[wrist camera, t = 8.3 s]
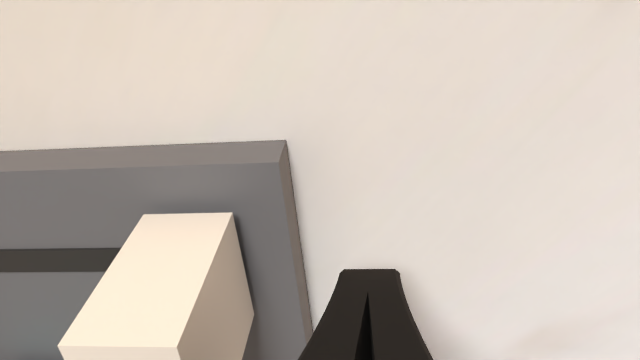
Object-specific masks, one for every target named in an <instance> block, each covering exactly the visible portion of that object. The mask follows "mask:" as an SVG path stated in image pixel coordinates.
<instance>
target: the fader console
mask: <svg viewBox="0 0 640 360" xmlns="http://www.w3.org/2000/svg"><path fill="white" fill-rule="evenodd" d="M229 212H232V213H233V218H234V222H235V227H236V232H237V236H238V241H239V246H240V250H241V255H242V260H243V264H244V269H245V273H246V278H247V283H248V287H249V292H250V297H251V301H252V306H253V311H254V317H253V321H252V325H251V328H250V332H249V335H248V339H247V343H246V346H245V350H244V354H243V357H242V360H298V358H299V357H300V355H301V353H302V352H303V350H304V348H305V347H306V345H307V343H308V342H309V340H310V338H311V337H312V335H313V329H312V322H311V315H310V308H309V301H308V294H307V287H306V280H305V273H304V265H303V258H302V251H301V244H300V237H299V230H298V223H297V216H296V209H295V202H294V195H293V188H292V180H291V173H290V166H289V159H288V152H287V145H286V140H276V141H251V142H226V143H201V144H175V145H150V146H125V147H100V148H74V149H49V150H24V151H0V360H64V358H63V356H62V354H61V352H60V350H59V348H58V344H59V343H60V341H61V339H62V338H63V336H64V335H65V333H66V332H67V330H68V329H69V327H70V326H71V324H72V323H73V321H74V320H75V318H76V317H77V315H78V314H79V312H80V311H81V309H82V307H83V306H84V304H85V303H86V301H87V300H88V298H89V297H90V295H91V294H92V292H93V291H94V289H95V288H96V286H97V285H98V283H99V282H100V280H101V279H102V277H103V275H104V274H105V272H106V271H107V269H108V268H109V266H110V265H111V263H112V262H113V260H114V259H115V257H116V256H117V254H118V253H119V251H120V250H121V248H122V246H123V245H124V243H125V242H126V240H127V239H128V237H129V236H130V234H131V233H132V231H133V230H134V228H135V227H136V225H137V224H138V222H139V221H140V219H141V218H142V216H143V214H183V213H229Z"/></svg>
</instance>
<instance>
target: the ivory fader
mask: <svg viewBox="0 0 640 360" xmlns="http://www.w3.org/2000/svg"><path fill="white" fill-rule="evenodd" d="M253 317H254V311H253V306H252V301H251V297H250V292H249V287H248V283H247V278H246V273H245V269H244V264H243V260H242V255H241V250H240V246H239V241H238V236H237V232H236V227H235V222H234V218H233V213H232V212H229V213H183V214H143V216H142V218H141V219H140V221H139V222H138V224H137V225H136V227H135V228H134V230H133V231H132V233H131V234H130V236H129V237H128V239H127V240H126V242H125V243H124V245H123V246H122V248H121V250H120V251H119V253H118V254H117V256H116V257H115V259H114V260H113V262H112V263H111V265H110V266H109V268H108V269H107V271H106V272H105V274H104V275H103V277H102V279H101V280H100V282H99V283H98V285H97V286H96V288H95V289H94V291H93V292H92V294H91V295H90V297H89V298H88V300H87V301H86V303H85V304H84V306H83V307H82V309H81V311H80V312H79V314H78V315H77V317H76V318H75V320H74V321H73V323H72V324H71V326H70V327H69V329H68V330H67V332H66V333H65V335H64V336H63V338H62V339H61V341H60V343H59V344H58V348H59V350H60V352H61V354H62V356H63V358H64V360H242V357H243V354H244V350H245V346H246V343H247V339H248V335H249V332H250V328H251V325H252V321H253Z"/></svg>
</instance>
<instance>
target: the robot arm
mask: <svg viewBox="0 0 640 360" xmlns="http://www.w3.org/2000/svg"><path fill="white" fill-rule="evenodd" d="M298 360H433V358H432V356H431V355H430V353H429V351H428V349H427V347H426V345H425V343H424V341H423V339H422V337H421V334H420V332H419V330H418V328H417V326H416V323H415V321H414V319H413V316H412V314H411V312H410V309H409V306H408V303H407V301H406V298H405V295H404V292H403V288H402V284H401V279H400V273H399V272H398V271H397V270H395V269H344V270H343V271H342V272H341V273H340V275H339V278H338V281H337V284H336V287H335V289H334V292H333V294H332V297H331V299H330V301H329V303H328V306H327V308H326V310H325V312H324V314H323V316H322V318H321V320H320V322H319V324H318V325H317V327H316V329H315V331H314V333H313V335H312V337H311V338H310V340H309V342H308V343H307V345H306V347H305V348H304V350H303V352H302V353H301V355H300V357H299V358H298Z"/></svg>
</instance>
